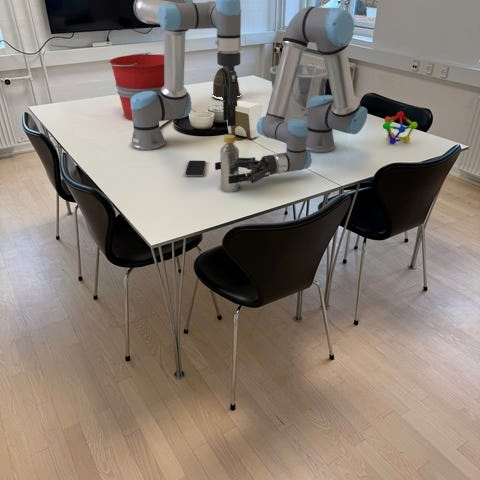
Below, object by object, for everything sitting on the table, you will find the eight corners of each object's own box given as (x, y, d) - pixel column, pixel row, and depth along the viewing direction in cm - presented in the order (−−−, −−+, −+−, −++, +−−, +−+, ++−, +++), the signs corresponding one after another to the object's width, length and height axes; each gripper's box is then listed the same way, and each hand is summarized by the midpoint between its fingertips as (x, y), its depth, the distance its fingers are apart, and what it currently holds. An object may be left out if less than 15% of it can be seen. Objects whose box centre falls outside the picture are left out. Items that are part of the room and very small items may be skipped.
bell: (227, 105, 294) (202, 96, 282) (238, 66, 289) (213, 55, 277) (243, 108, 280) (217, 98, 268) (255, 66, 275) (229, 55, 263)
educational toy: (377, 146, 209) (379, 114, 202) (384, 138, 219) (386, 107, 211) (411, 149, 202) (415, 116, 195) (417, 141, 212) (420, 109, 204)
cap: (237, 141, 158) (237, 136, 157) (229, 144, 156) (229, 138, 155) (229, 139, 160) (229, 133, 159) (221, 141, 158) (221, 136, 157)
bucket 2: (296, 138, 215) (301, 78, 201) (255, 124, 234) (256, 68, 219) (335, 125, 232) (342, 70, 217) (294, 113, 251) (297, 61, 236)
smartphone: (184, 174, 176) (189, 160, 189) (184, 176, 176) (189, 161, 189) (203, 175, 176) (206, 160, 188) (203, 176, 176) (206, 162, 189)
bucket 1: (123, 105, 263) (116, 51, 247) (182, 106, 262) (179, 52, 247) (107, 123, 234) (97, 63, 218) (173, 124, 233) (168, 64, 217)
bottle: (242, 188, 167) (242, 137, 157) (229, 193, 163) (229, 141, 153) (230, 182, 172) (229, 133, 161) (217, 187, 168) (216, 137, 157)
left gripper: (211, 47, 149) (213, 115, 161) (223, 57, 133) (224, 132, 146) (233, 46, 151) (233, 114, 163) (247, 56, 135) (246, 130, 147)
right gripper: (288, 186, 162) (235, 196, 155) (259, 162, 182) (210, 170, 175) (289, 167, 158) (235, 176, 151) (259, 144, 178) (210, 152, 171)
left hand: (229, 122), depth 154 cm, fingers open, 6 cm apart
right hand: (221, 173), depth 163 cm, fingers open, 13 cm apart
